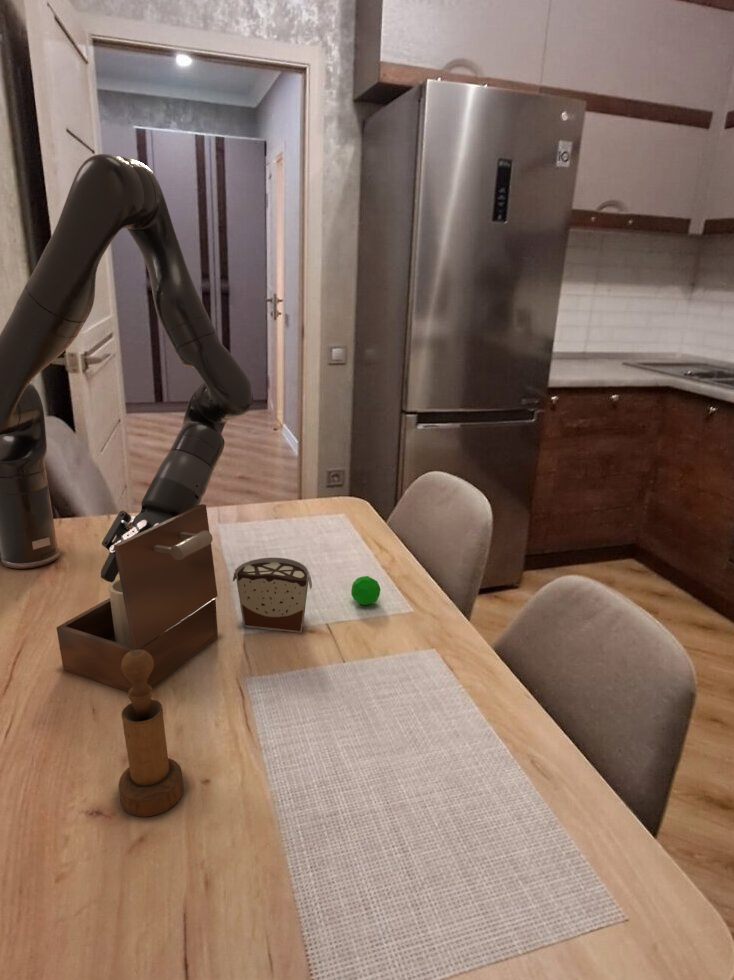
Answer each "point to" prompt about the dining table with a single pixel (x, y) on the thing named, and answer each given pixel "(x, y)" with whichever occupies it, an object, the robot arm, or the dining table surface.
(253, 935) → the dining table surface
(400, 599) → the dining table surface
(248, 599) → the food container
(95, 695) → the dining table surface
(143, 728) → the mortar and pestle
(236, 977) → the dining table surface
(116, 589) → the ceramic cup
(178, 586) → the box lid
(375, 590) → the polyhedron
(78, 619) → the walnut box
